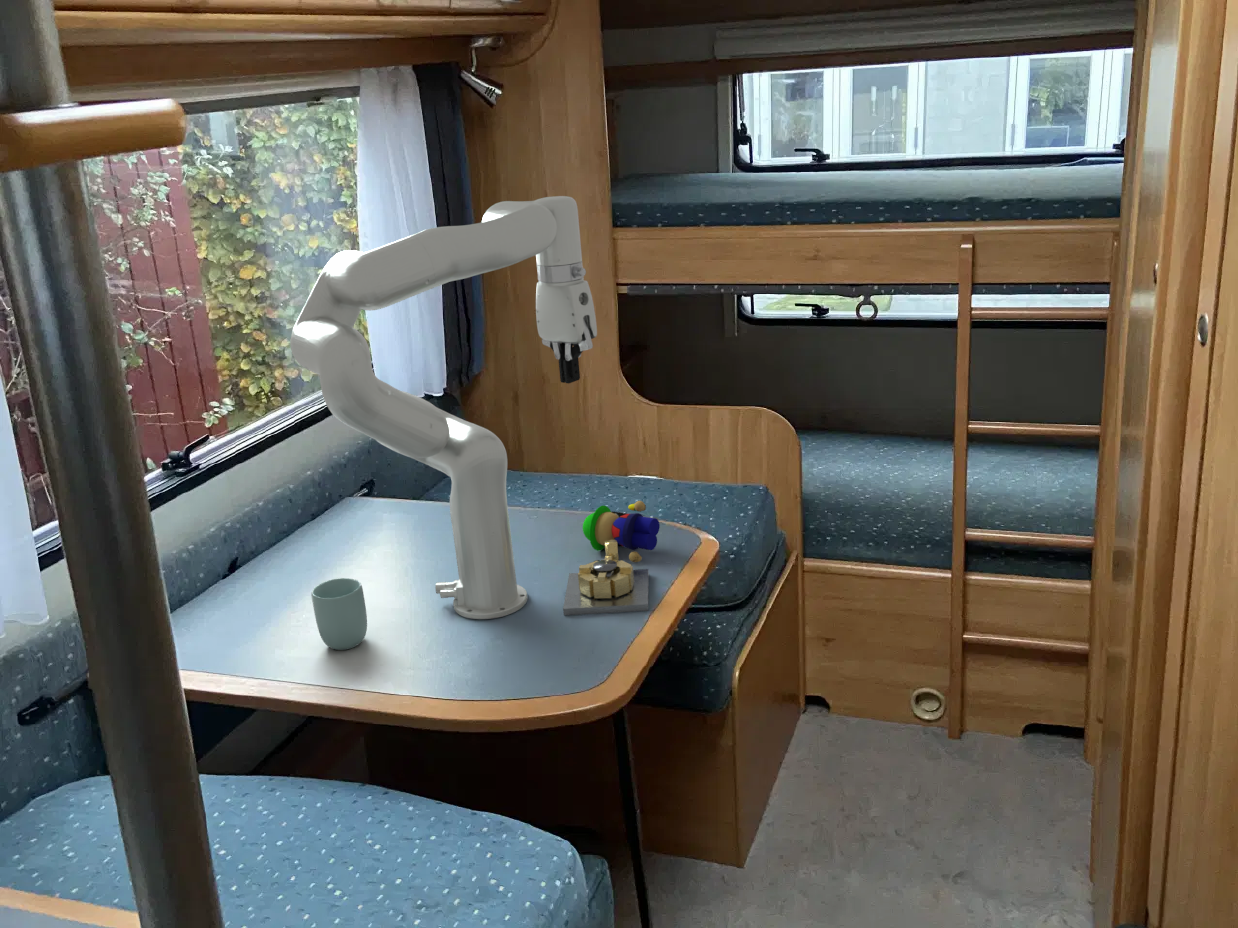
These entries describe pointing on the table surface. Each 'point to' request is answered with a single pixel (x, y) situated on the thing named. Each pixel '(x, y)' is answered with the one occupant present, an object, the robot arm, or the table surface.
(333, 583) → the cup
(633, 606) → the base plate
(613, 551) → the ring nut
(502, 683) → the table surface
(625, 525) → the toy
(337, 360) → the robot arm
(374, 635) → the table surface
